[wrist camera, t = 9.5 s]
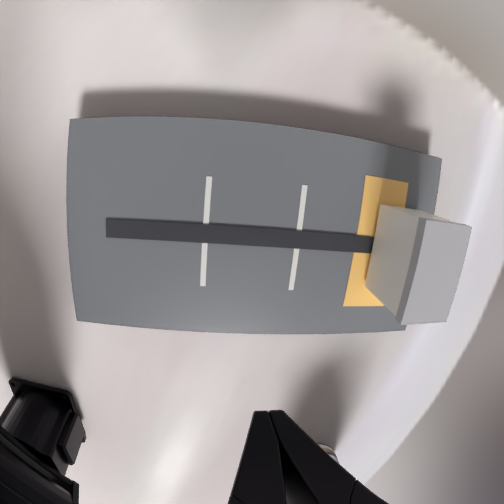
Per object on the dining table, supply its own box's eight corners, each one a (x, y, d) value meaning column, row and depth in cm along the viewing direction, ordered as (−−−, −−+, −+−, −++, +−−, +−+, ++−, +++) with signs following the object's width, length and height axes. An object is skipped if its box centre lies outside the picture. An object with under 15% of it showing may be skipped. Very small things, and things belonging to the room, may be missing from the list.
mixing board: (84, 309, 19) (76, 321, 17) (80, 121, 15) (69, 118, 14) (395, 320, 22) (405, 330, 20) (428, 157, 18) (442, 158, 17)
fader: (362, 287, 18) (400, 325, 14) (378, 202, 17) (426, 219, 13) (404, 287, 19) (446, 321, 14) (421, 208, 17) (471, 227, 13)
